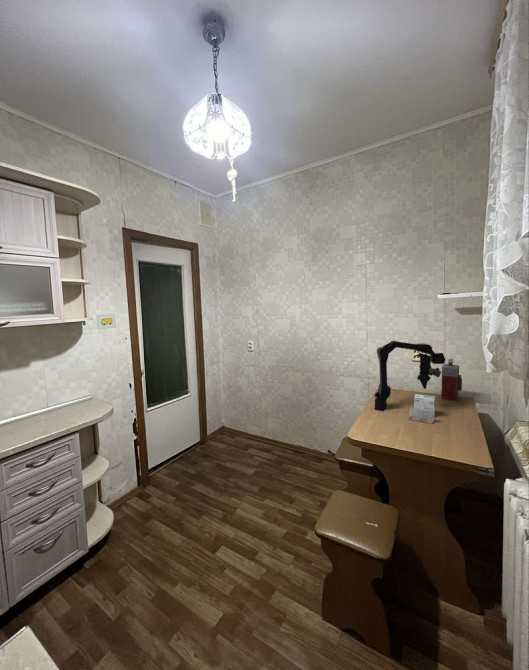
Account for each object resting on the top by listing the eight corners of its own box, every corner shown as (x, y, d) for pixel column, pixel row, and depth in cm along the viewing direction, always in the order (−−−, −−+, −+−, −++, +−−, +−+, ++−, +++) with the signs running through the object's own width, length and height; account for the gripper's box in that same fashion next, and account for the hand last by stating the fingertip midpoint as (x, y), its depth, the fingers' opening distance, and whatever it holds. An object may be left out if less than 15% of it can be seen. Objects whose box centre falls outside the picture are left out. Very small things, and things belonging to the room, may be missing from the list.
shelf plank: (408, 419, 160) (408, 418, 160) (409, 418, 162) (409, 417, 162) (433, 424, 153) (433, 423, 153) (433, 422, 155) (433, 421, 155)
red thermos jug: (461, 402, 186) (462, 360, 184) (441, 399, 193) (441, 359, 191) (462, 399, 193) (463, 358, 191) (443, 396, 200) (443, 357, 198)
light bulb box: (435, 413, 168) (435, 396, 167) (434, 417, 162) (434, 399, 162) (414, 410, 174) (415, 393, 173) (413, 414, 168) (413, 396, 167)
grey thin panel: (409, 418, 162) (409, 408, 161) (409, 417, 163) (409, 407, 162) (433, 422, 155) (433, 412, 154) (433, 421, 156) (433, 411, 155)
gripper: (439, 367, 162) (438, 394, 163) (441, 362, 177) (441, 386, 178) (417, 366, 168) (417, 391, 170) (421, 361, 184) (421, 384, 185)
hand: (424, 388), depth 176 cm, fingers closed
